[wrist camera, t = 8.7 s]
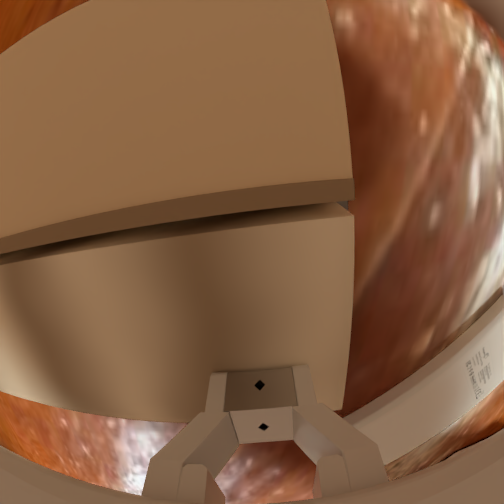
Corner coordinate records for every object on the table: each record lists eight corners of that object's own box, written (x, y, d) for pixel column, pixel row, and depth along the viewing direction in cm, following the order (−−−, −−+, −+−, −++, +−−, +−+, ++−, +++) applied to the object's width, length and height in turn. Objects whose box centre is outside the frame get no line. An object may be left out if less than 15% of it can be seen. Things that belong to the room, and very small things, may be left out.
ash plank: (332, 199, 8) (354, 215, 7) (331, 374, 11) (341, 409, 9) (-51, 265, 9) (-72, 279, 7) (-4, 366, 12) (-18, 384, 10)
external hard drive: (322, 420, 14) (496, 288, 11) (375, 453, 17) (507, 357, 14) (327, 442, 13) (514, 302, 10) (380, 470, 15) (518, 370, 12)
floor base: (310, -9, 7) (329, -51, 4) (335, 394, 13) (348, 440, 10) (-66, 145, 7) (-99, 154, 5) (15, 385, 13) (-3, 411, 11)
